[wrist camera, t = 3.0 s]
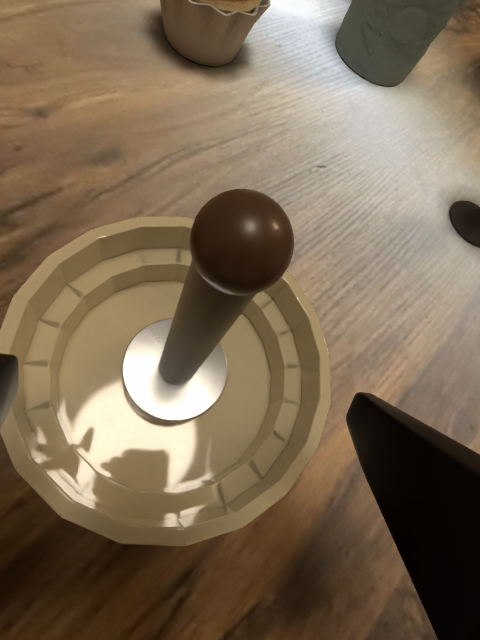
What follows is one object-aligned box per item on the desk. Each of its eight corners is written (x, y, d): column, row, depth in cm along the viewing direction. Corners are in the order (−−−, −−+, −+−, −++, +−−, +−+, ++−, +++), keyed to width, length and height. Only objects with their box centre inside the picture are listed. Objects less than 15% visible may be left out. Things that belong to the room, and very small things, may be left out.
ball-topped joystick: (172, 446, 17) (278, 416, 5) (99, 373, 18) (34, 178, 5) (239, 374, 20) (419, 234, 7) (173, 310, 20) (245, 74, 8)
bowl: (170, 599, 16) (185, 647, 11) (-47, 375, 16) (-104, 348, 12) (333, 376, 22) (379, 357, 18) (173, 223, 23) (183, 172, 19)
